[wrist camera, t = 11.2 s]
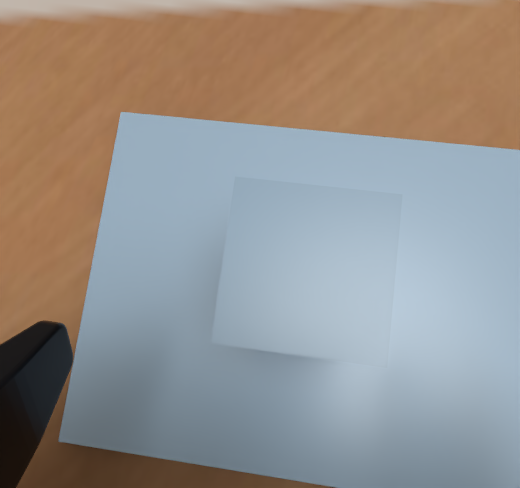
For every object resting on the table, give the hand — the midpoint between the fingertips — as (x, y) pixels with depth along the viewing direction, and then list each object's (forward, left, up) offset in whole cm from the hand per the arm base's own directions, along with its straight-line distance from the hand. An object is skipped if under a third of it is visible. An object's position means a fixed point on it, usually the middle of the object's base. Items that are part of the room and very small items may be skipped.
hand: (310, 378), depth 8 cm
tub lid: (+2, +1, -8) cm, 8 cm away
